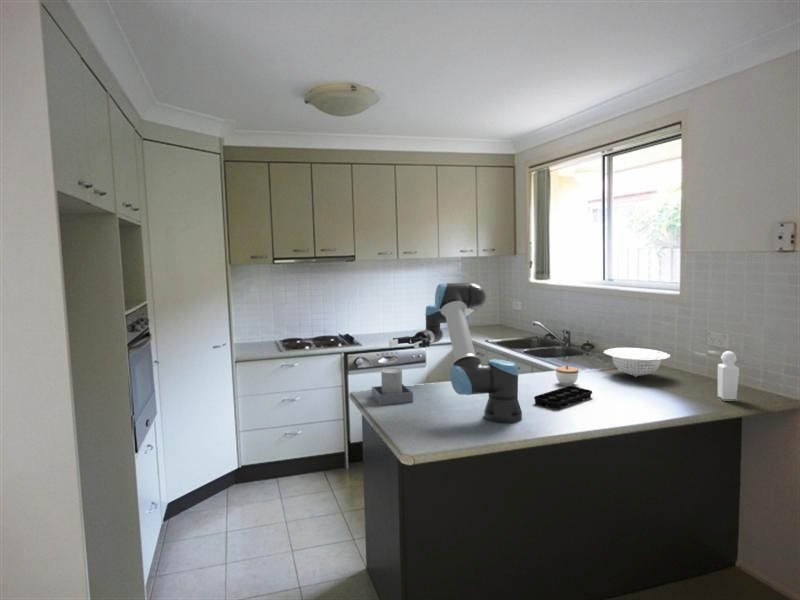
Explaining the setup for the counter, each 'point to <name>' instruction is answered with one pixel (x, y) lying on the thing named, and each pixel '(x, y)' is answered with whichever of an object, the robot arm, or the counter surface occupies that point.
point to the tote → (392, 396)
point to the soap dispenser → (728, 376)
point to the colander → (636, 359)
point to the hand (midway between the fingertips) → (402, 344)
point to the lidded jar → (567, 375)
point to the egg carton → (562, 397)
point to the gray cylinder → (391, 381)
